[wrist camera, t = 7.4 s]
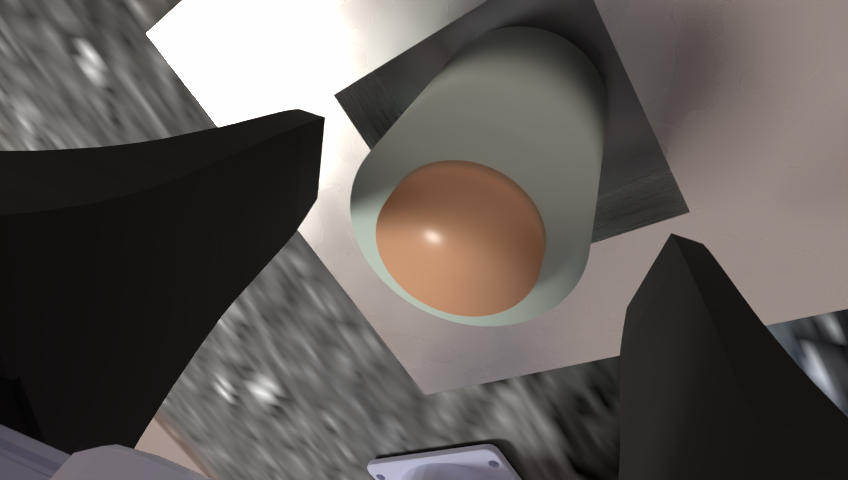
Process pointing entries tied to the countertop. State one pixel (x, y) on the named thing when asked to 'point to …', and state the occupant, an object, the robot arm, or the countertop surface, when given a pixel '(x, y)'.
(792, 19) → the beige square slab
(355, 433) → the countertop surface
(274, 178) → the robot arm
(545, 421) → the countertop surface
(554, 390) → the countertop surface
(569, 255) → the cylinder with orange cap
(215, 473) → the countertop surface
